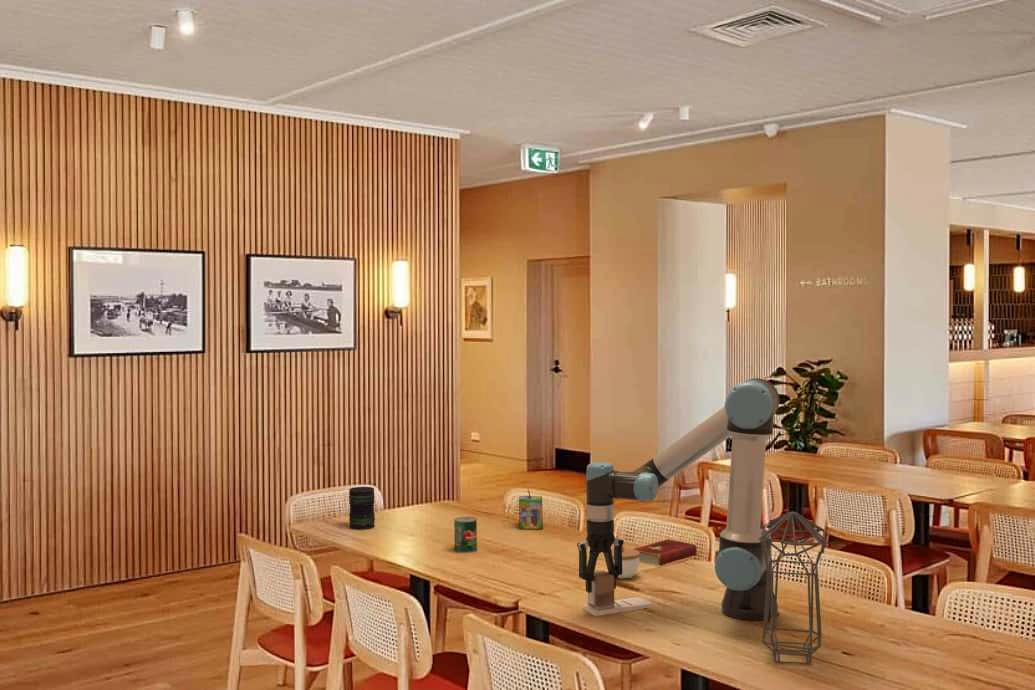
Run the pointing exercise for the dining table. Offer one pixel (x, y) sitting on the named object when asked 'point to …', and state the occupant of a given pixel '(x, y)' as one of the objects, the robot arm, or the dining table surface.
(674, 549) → the hardcover book
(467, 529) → the canned tomato
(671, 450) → the robot arm
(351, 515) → the storage jar
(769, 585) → the geometric lantern
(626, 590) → the dining table surface
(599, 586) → the eraser block
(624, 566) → the lidded jar
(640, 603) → the board
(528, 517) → the green juice box
